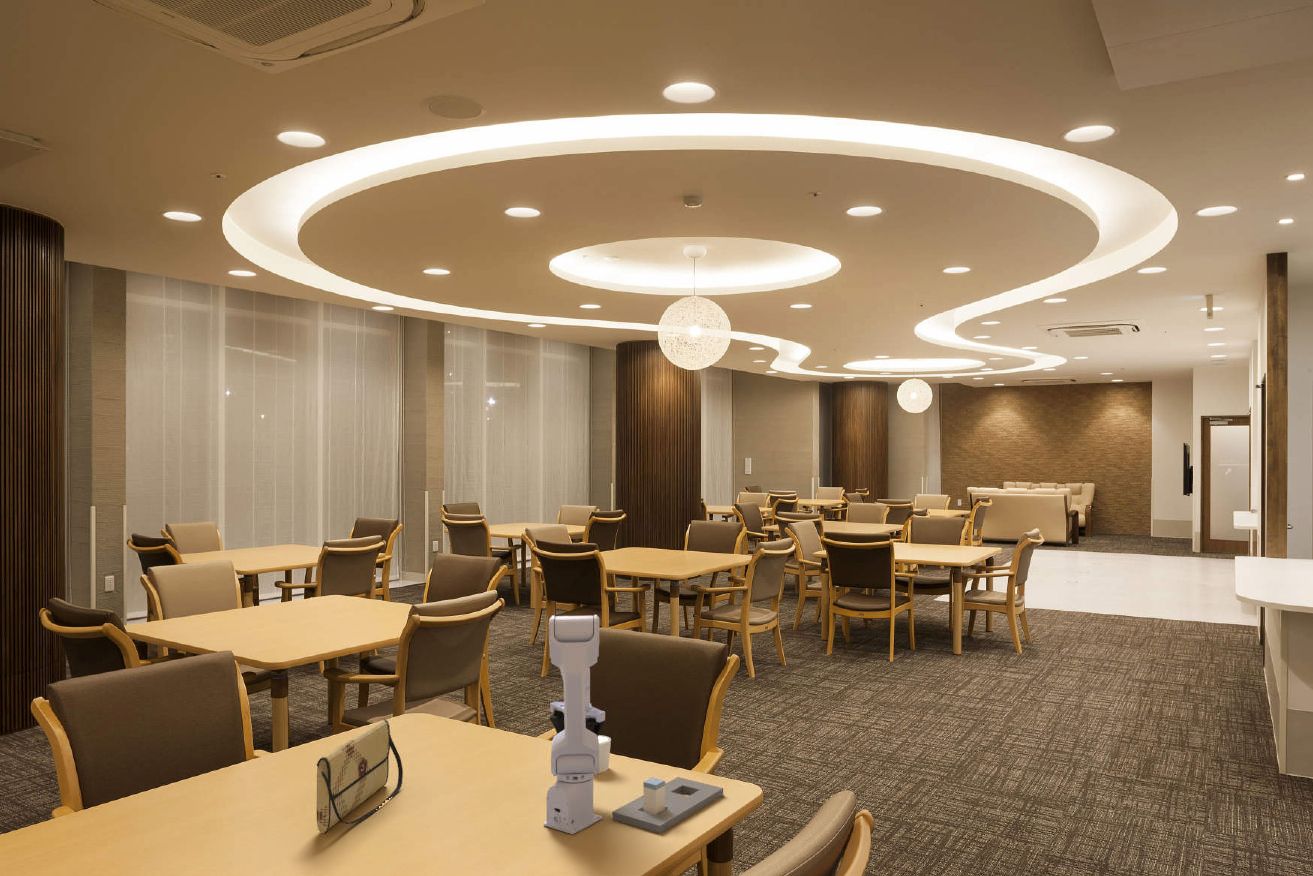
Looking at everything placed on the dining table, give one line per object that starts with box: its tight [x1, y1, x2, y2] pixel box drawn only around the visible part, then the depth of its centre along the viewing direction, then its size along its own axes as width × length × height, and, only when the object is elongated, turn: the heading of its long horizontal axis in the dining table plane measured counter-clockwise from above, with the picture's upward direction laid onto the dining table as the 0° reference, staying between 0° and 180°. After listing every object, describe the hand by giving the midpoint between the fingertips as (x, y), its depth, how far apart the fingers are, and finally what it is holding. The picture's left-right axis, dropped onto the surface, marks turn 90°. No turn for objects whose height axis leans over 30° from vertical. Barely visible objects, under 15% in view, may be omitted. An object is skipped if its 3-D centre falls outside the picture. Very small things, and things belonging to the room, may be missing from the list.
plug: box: [642, 777, 666, 815], centre depth 172 cm, size 3×3×7 cm
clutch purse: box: [316, 718, 404, 834], centre depth 177 cm, size 30×7×15 cm, turn 172°
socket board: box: [611, 776, 724, 834], centre depth 177 cm, size 24×12×2 cm, turn 144°
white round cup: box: [594, 734, 612, 774], centre depth 200 cm, size 7×7×7 cm
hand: (577, 749), depth 186 cm, fingers open, 7 cm apart
